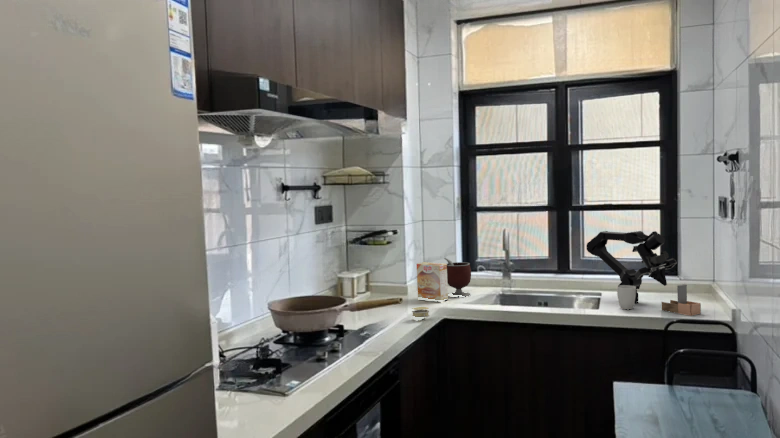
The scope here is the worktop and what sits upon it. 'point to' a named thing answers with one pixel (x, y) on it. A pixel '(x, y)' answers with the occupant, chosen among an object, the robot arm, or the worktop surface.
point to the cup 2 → (689, 308)
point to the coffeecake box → (432, 280)
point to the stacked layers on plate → (420, 312)
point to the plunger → (682, 293)
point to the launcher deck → (670, 306)
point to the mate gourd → (458, 276)
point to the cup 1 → (626, 296)
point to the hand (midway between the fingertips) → (665, 285)
